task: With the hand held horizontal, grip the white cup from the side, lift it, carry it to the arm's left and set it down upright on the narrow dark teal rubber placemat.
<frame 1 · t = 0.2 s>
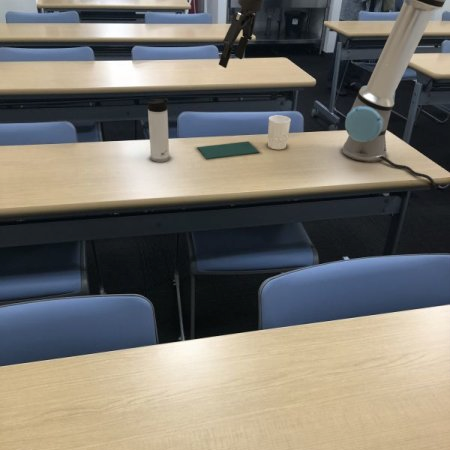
hand: (230, 61, 164), 28 cm above the table, tool tilted 20°, fingers open, 13 cm apart
travel mug: (160, 159, 167), on the table
placemat: (228, 150, 175), on the table
white cup: (276, 146, 180), on the table
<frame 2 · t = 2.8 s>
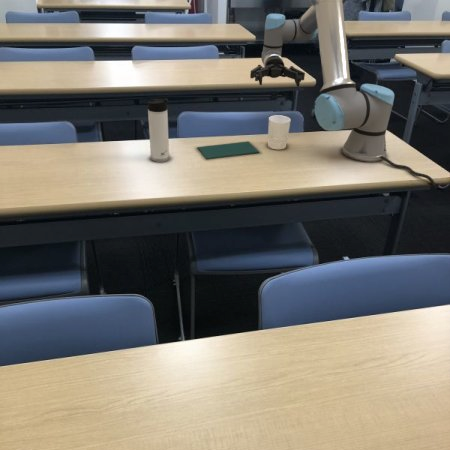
hand: (279, 81, 174), 20 cm above the table, tool horizontal, fingers open, 13 cm apart
nothing on the table moved.
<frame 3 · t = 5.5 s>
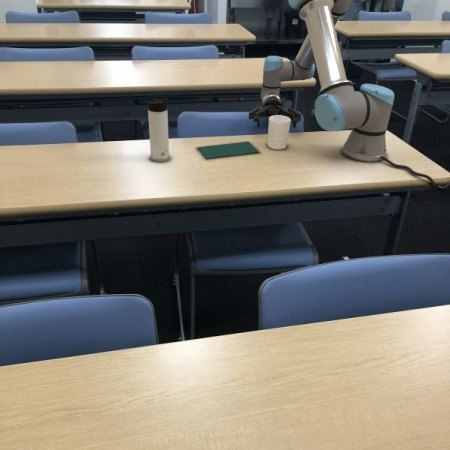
hand: (276, 123, 180), 6 cm above the table, tool horizontal, fingers open, 13 cm apart
nothing on the table moved.
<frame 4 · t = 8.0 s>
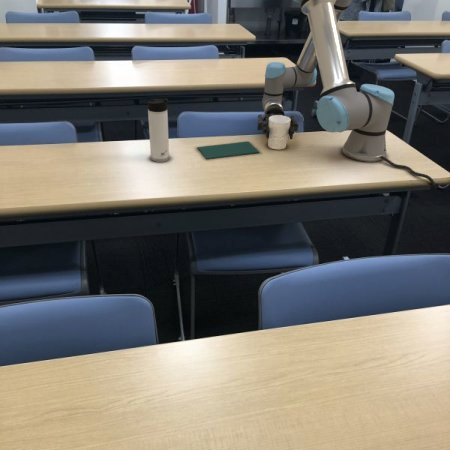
hand: (279, 135, 172), 6 cm above the table, tool horizontal, fingers closed on white cup, 8 cm apart
white cup: (276, 146, 180), on the table, touching gripper
everything else where it was.
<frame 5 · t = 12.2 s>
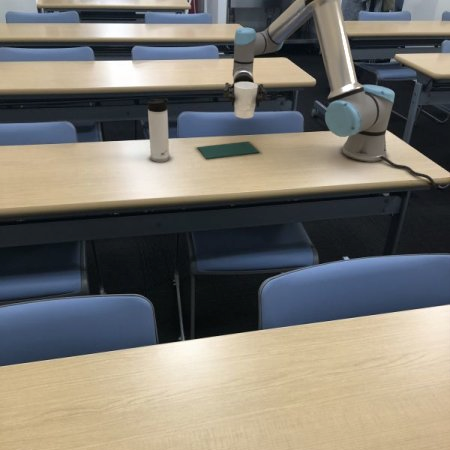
hand: (245, 102, 161), 18 cm above the table, tool horizontal, fingers closed on white cup, 8 cm apart
white cup: (244, 115, 169), point 12 cm above the table, touching gripper
everything else where it was.
when the fingers open (6 cm above the table, at t = 16.5 s): white cup stays where it is, resting on placemat.
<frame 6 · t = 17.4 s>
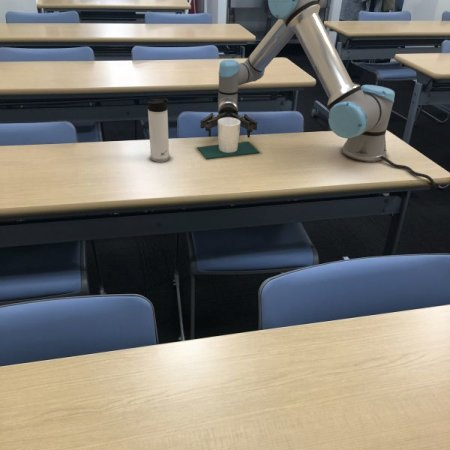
hand: (229, 133, 168), 7 cm above the table, tool horizontal, fingers open, 13 cm apart
white cup: (228, 149, 174), resting on placemat
everything else where it was.
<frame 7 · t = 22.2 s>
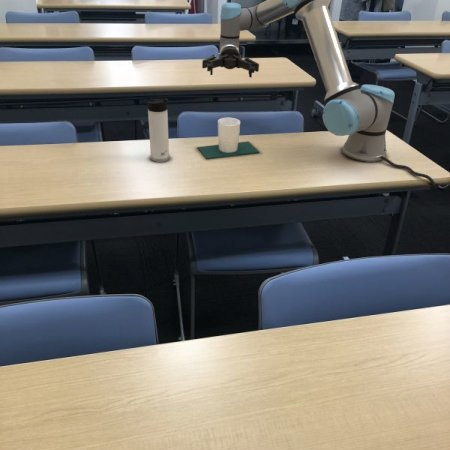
hand: (231, 72, 167), 24 cm above the table, tool horizontal, fingers open, 13 cm apart
nothing on the table moved.
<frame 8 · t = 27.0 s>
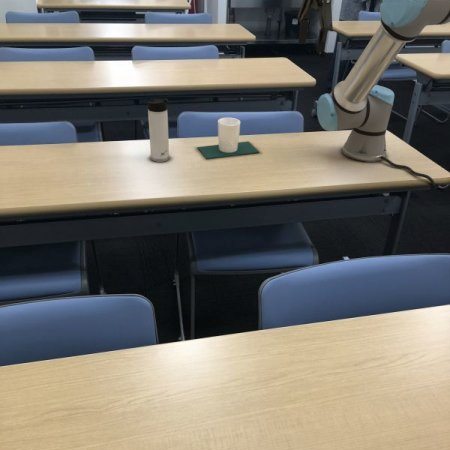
hand: (310, 47, 170), 31 cm above the table, tool pointing down, fingers open, 13 cm apart
nothing on the table moved.
at the end: white cup inside the target area on the placemat (0.1 cm from its centre), point 0.3 cm above the placemat's base; white cup tilted 0°; the gripper is holding nothing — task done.
